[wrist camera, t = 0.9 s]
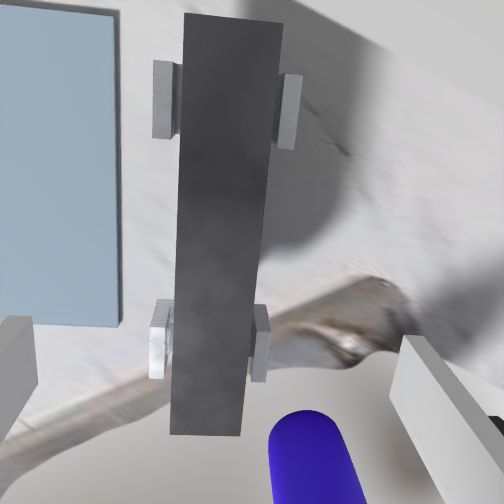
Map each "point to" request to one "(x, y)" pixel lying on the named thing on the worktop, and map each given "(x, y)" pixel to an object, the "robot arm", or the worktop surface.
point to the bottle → (311, 462)
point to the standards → (166, 127)
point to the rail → (220, 214)
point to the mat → (58, 167)
